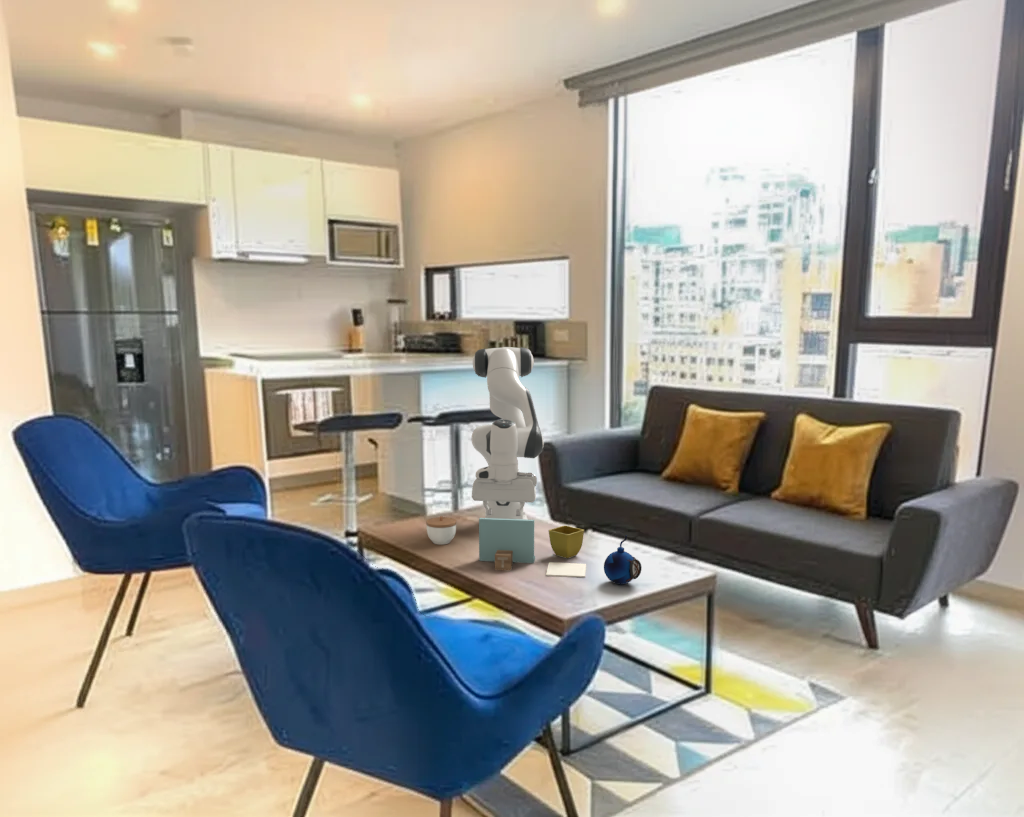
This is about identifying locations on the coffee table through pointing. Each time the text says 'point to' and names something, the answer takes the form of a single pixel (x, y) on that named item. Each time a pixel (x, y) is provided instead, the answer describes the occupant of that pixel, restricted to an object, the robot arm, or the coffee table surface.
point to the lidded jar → (441, 529)
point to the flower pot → (566, 541)
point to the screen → (506, 538)
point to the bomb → (621, 566)
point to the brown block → (503, 560)
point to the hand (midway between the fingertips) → (503, 515)
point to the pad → (566, 569)
